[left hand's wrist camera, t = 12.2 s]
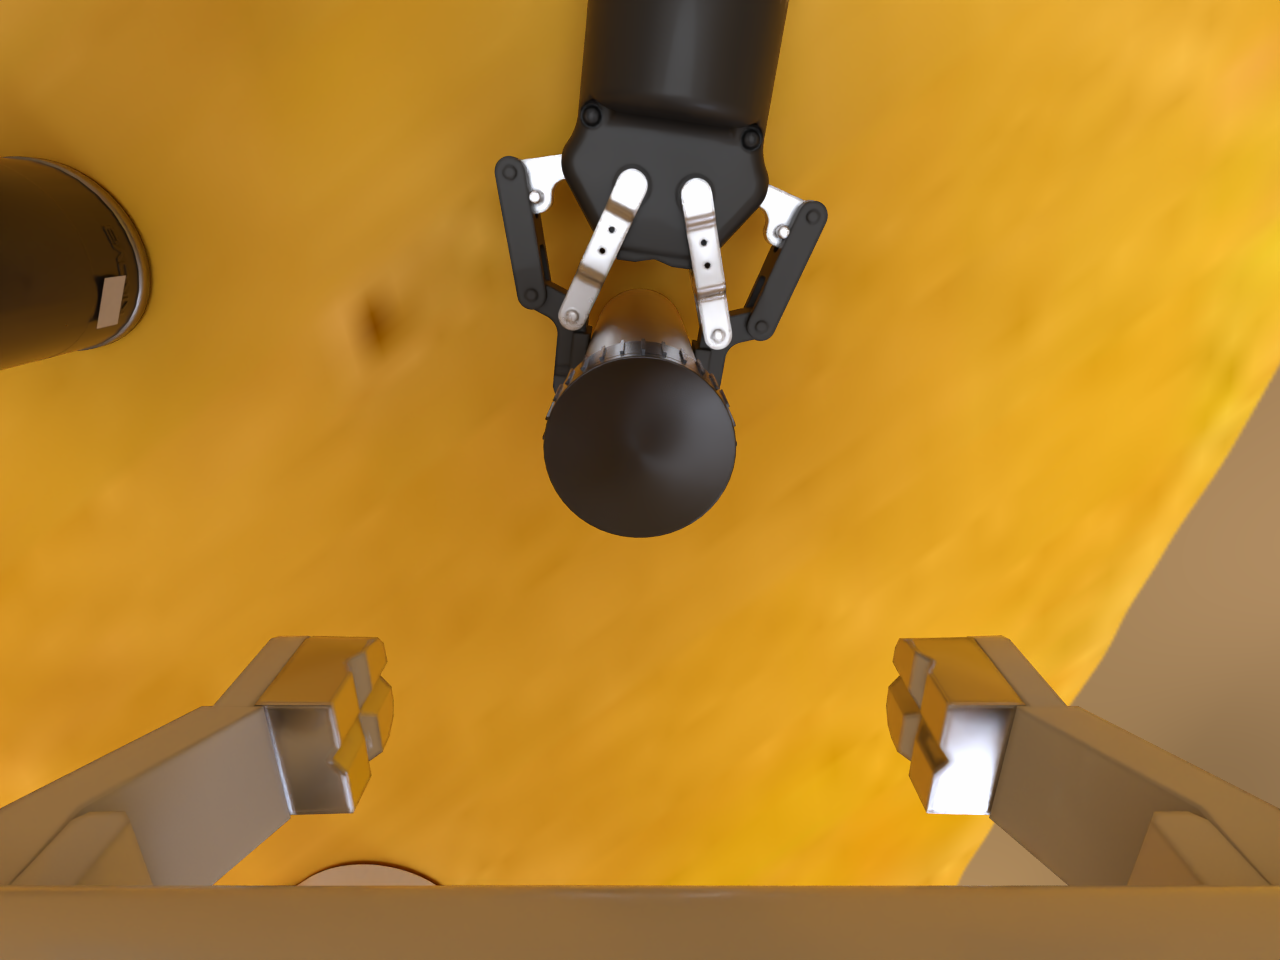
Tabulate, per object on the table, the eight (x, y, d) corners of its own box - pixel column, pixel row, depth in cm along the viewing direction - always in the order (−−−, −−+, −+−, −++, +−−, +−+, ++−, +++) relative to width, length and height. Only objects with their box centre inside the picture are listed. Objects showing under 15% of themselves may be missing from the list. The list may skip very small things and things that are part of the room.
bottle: (652, 392, 39) (662, 547, 21) (579, 346, 38) (528, 468, 20) (700, 320, 37) (753, 423, 20) (626, 270, 36) (614, 333, 19)
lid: (664, 539, 23) (666, 572, 21) (517, 452, 22) (504, 478, 20) (765, 402, 21) (779, 424, 19) (611, 300, 20) (608, 311, 18)
